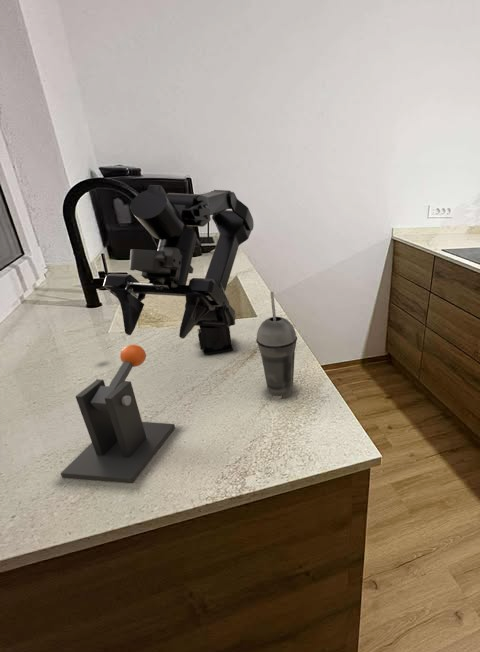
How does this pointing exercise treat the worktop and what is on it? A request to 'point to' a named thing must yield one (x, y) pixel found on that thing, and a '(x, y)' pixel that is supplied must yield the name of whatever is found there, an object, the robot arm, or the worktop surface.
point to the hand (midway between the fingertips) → (154, 336)
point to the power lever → (119, 374)
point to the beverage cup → (277, 353)
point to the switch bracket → (115, 437)
